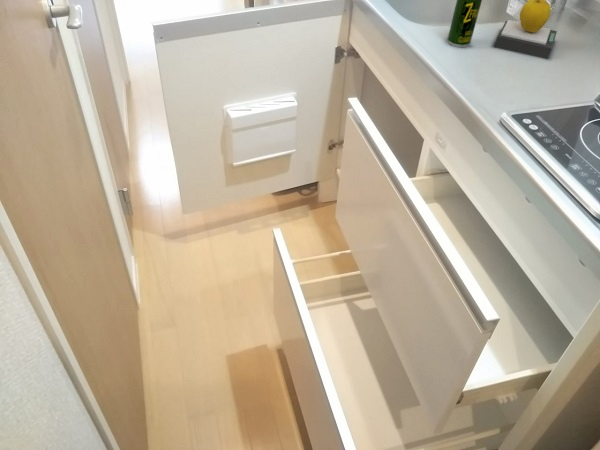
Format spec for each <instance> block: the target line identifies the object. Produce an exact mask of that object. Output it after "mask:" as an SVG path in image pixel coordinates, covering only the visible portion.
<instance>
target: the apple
mask: <svg viewBox="0 0 600 450" xmlns="http://www.w3.org/2000/svg"><path fill="white" fill-rule="evenodd" d="M551 8H552V7H551V5H550V3H549V2H548V1H546V0H527V1H526V3H525V4H524V5H522V7H521V10H520V13H519V22H520V23H521V27H522V28H523V29H524V30H525V31H528V32H531V33H535V32H537V31H539V30H540V29H541V28H542V27H544V26H545V25H546V23H548V21H549V19H550V17H551V11H552V9H551Z"/></svg>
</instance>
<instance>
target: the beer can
mask: <svg viewBox="0 0 600 450" xmlns="http://www.w3.org/2000/svg"><path fill="white" fill-rule="evenodd" d="M455 2H456V3H455V6H454V11H453V14H452V19H451V23H450V27H449V32H448V34H447V35H448V36H447V43H448V44H449V45H450V46H452V47H456V48H467V47H469V45H470V44H471V43H472V39H473V35H474V31H475V28H476V24H477V21H478V17H479V13H480V10H481V6H482V2H483V0H456V1H455Z"/></svg>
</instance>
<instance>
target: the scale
mask: <svg viewBox="0 0 600 450" xmlns="http://www.w3.org/2000/svg"><path fill="white" fill-rule="evenodd" d="M500 29H501V30H500V32H499V33H498V35H497V37H496V41H495V43H494V47H495V48H499V49H502V50H506V51H507V50H508V51H512V52H516V53H520V54H525V55H529V56H534V57H538V58H544V59H549V56H550V55H551V54H550V53H551V52H552V49H553V46H554V42H555V39H556V37H557V33H558V31H557V30H555V29H554V30H553V29H551V28H550V27H549V28H548V27H544V26H543V27H542V28H541V29H540V30H539V31H537V32H535V33H531V32H528V31H525V30H524V29H523V28H522V27H521V23H520V21H516V20H515V21H514V20H511V19H508V20H505V21H504V24H503V26H502V27H501V28H500Z"/></svg>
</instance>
